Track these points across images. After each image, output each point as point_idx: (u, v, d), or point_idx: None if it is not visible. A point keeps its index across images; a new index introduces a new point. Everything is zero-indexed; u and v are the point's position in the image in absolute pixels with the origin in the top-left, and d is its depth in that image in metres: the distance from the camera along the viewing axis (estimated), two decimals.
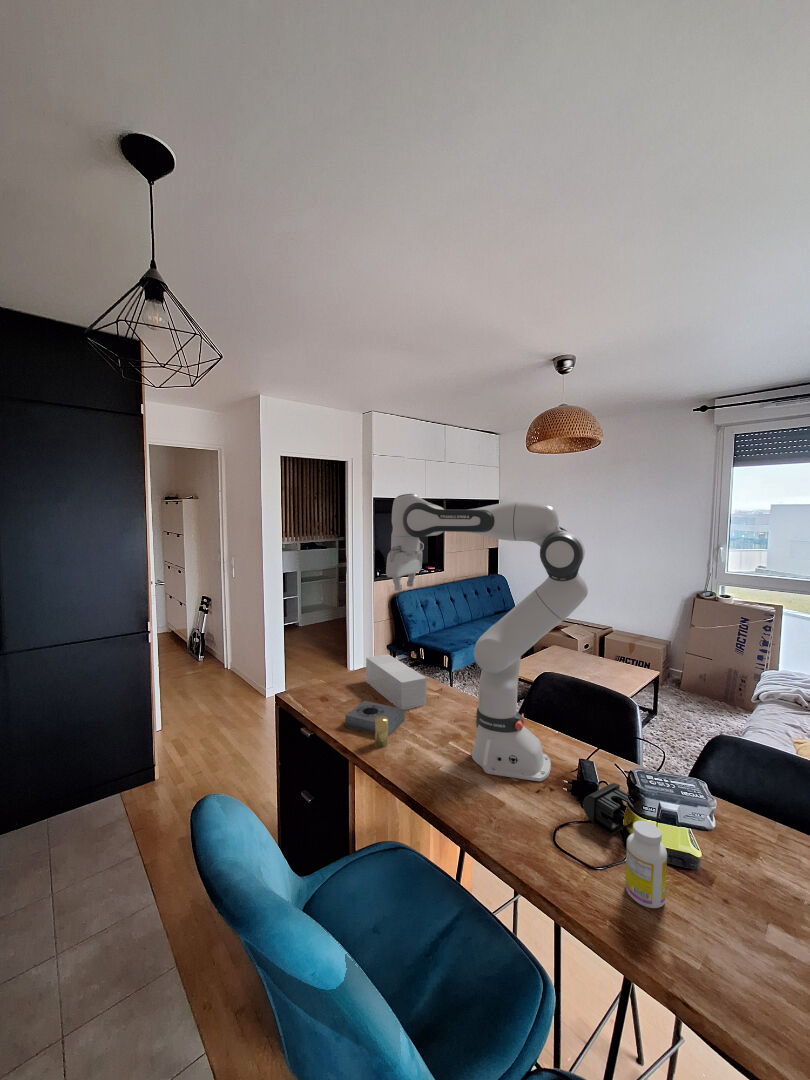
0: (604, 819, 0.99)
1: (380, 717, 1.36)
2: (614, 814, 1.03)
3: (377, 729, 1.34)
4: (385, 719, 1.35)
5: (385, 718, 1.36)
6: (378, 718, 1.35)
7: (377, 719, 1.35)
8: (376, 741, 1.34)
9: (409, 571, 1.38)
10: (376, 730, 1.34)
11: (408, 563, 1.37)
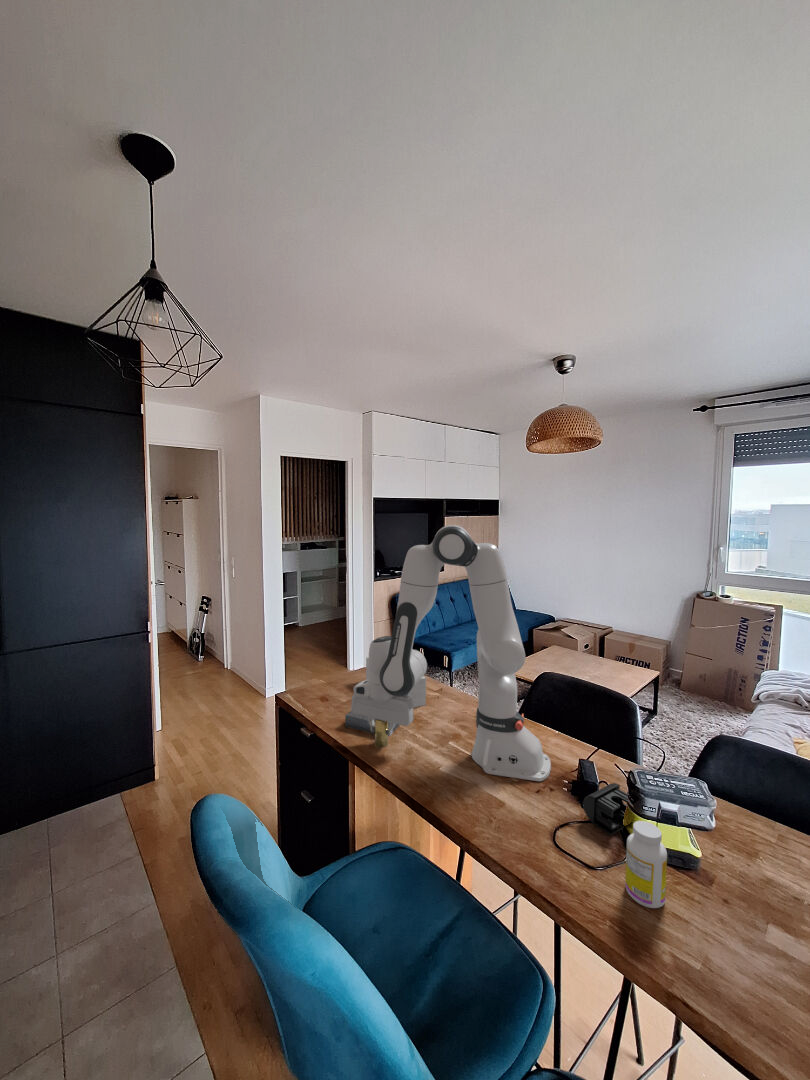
0: (604, 819, 0.99)
1: None
2: (614, 814, 1.03)
3: (377, 729, 1.34)
4: None
5: None
6: None
7: (377, 719, 1.35)
8: (376, 741, 1.34)
9: None
10: (376, 730, 1.34)
11: None
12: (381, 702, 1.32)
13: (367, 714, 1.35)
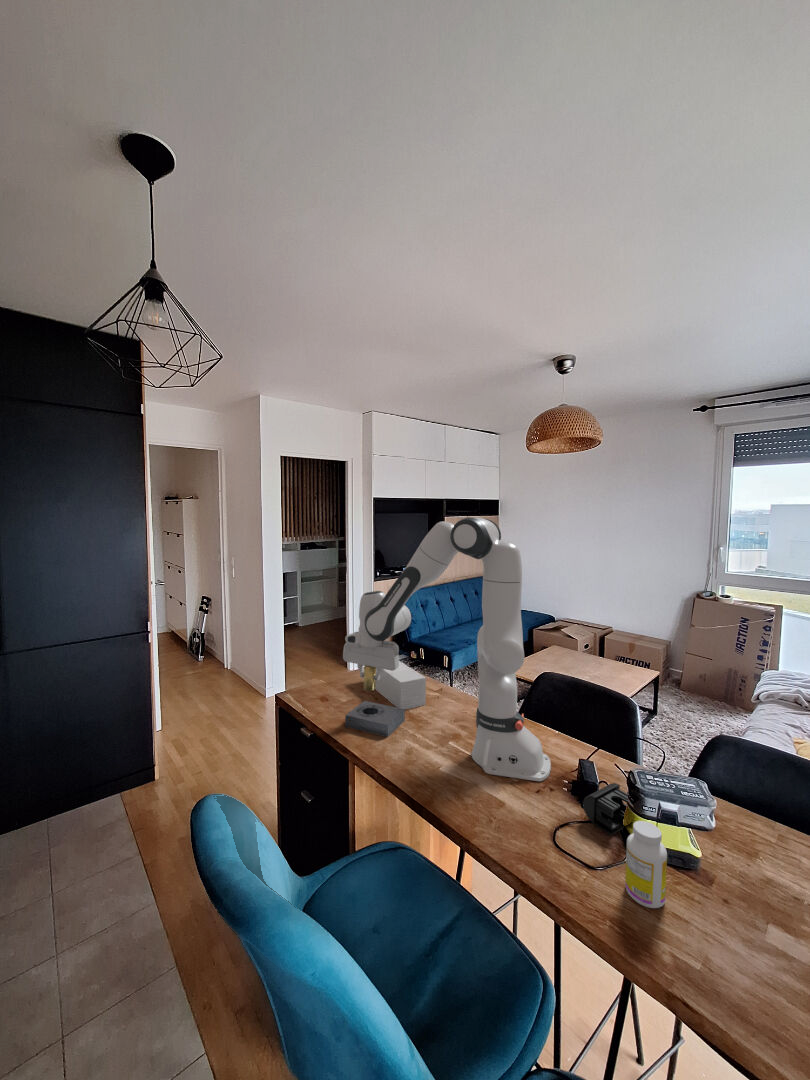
0: (604, 819, 0.99)
1: None
2: (614, 814, 1.03)
3: (366, 674, 1.47)
4: None
5: None
6: None
7: (366, 666, 1.48)
8: (365, 685, 1.48)
9: None
10: (365, 675, 1.48)
11: None
12: (370, 649, 1.46)
13: (357, 661, 1.49)
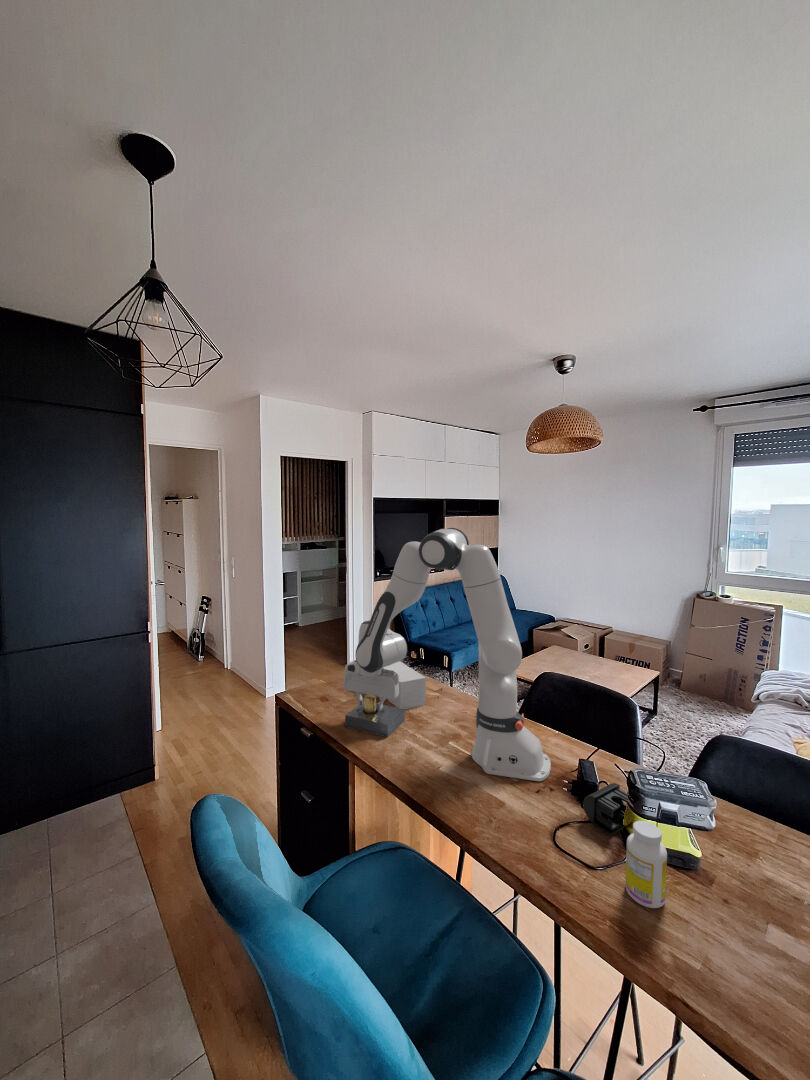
0: (604, 819, 0.99)
1: (369, 695, 1.50)
2: (614, 814, 1.03)
3: (366, 706, 1.48)
4: (373, 697, 1.49)
5: (373, 696, 1.49)
6: (367, 696, 1.49)
7: (366, 697, 1.49)
8: None
9: None
10: (365, 707, 1.48)
11: None
12: (370, 678, 1.46)
13: (357, 690, 1.49)
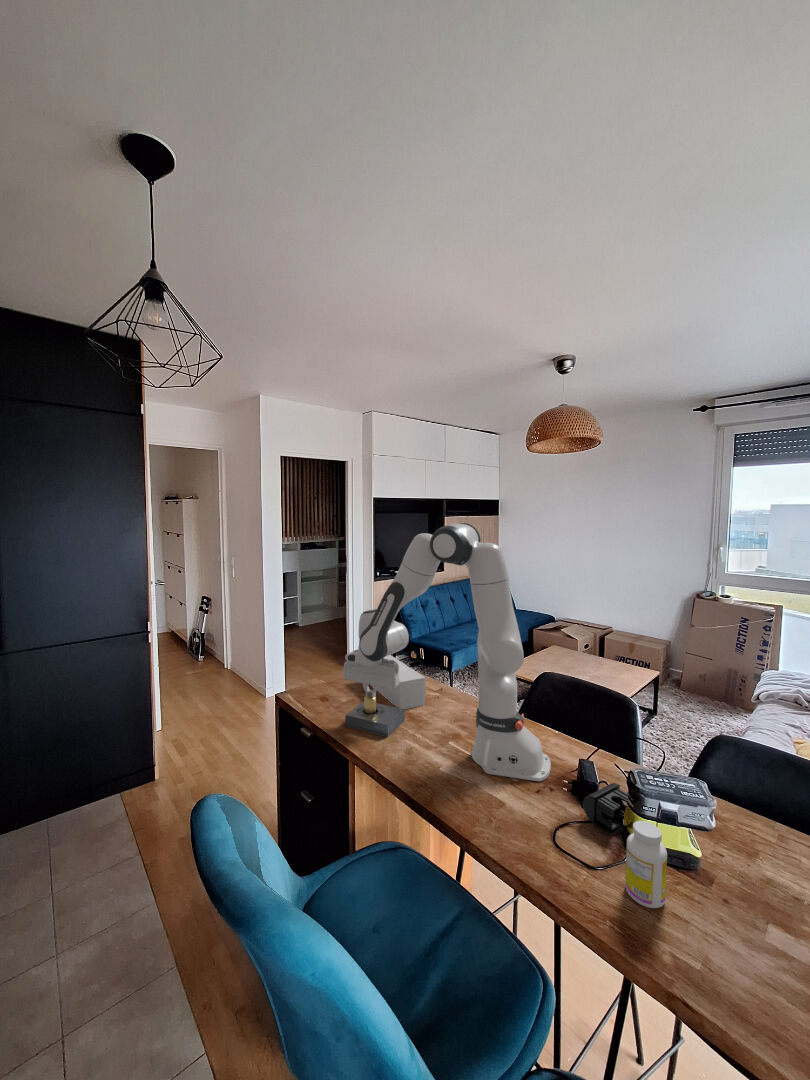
0: (604, 819, 0.99)
1: None
2: (614, 814, 1.03)
3: (366, 706, 1.48)
4: None
5: None
6: (367, 696, 1.49)
7: (366, 697, 1.49)
8: None
9: None
10: (365, 707, 1.48)
11: None
12: (370, 668, 1.46)
13: (357, 679, 1.49)
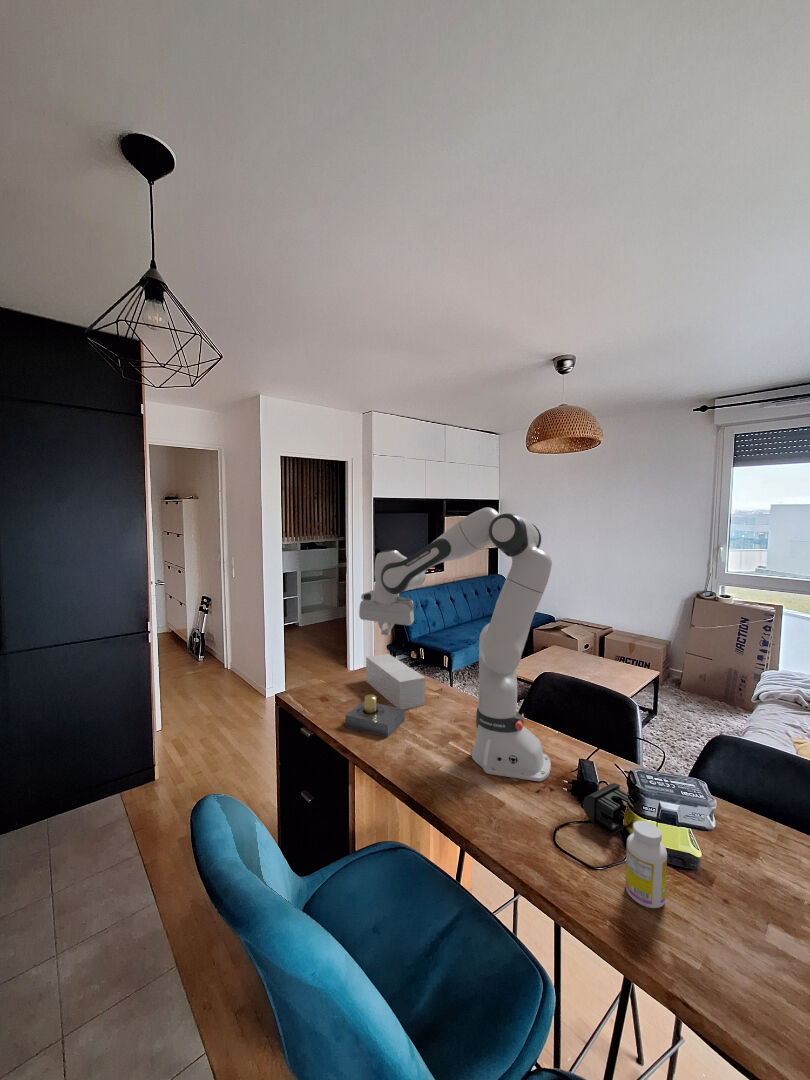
0: (604, 819, 0.99)
1: (369, 695, 1.50)
2: (614, 814, 1.03)
3: (366, 706, 1.48)
4: (373, 697, 1.49)
5: (374, 696, 1.49)
6: (367, 696, 1.49)
7: (366, 697, 1.49)
8: None
9: None
10: (365, 707, 1.48)
11: None
12: (386, 605, 1.50)
13: (373, 618, 1.54)
